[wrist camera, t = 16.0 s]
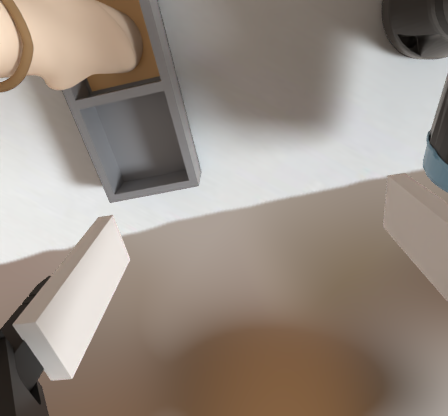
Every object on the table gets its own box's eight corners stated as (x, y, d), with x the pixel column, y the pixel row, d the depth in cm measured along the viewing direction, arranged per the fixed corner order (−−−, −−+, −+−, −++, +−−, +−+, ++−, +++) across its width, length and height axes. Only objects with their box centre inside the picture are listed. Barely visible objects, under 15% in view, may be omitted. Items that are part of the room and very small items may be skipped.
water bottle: (62, 43, 42) (-197, 29, 17) (90, -21, 38) (-183, -160, 13) (127, 92, 44) (-13, 141, 19) (159, 36, 41) (38, 8, 16)
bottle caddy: (146, -45, 38) (133, -61, 32) (201, 172, 51) (198, 185, 46) (40, -17, 39) (11, -27, 34) (121, 187, 53) (109, 202, 47)
